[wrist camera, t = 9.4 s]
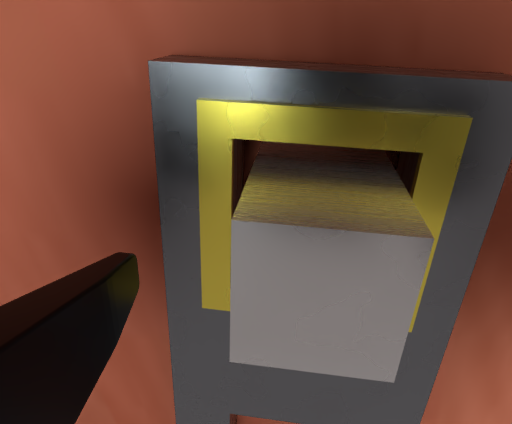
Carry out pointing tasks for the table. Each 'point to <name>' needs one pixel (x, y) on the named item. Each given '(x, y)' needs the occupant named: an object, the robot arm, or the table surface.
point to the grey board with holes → (329, 134)
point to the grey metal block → (325, 262)
